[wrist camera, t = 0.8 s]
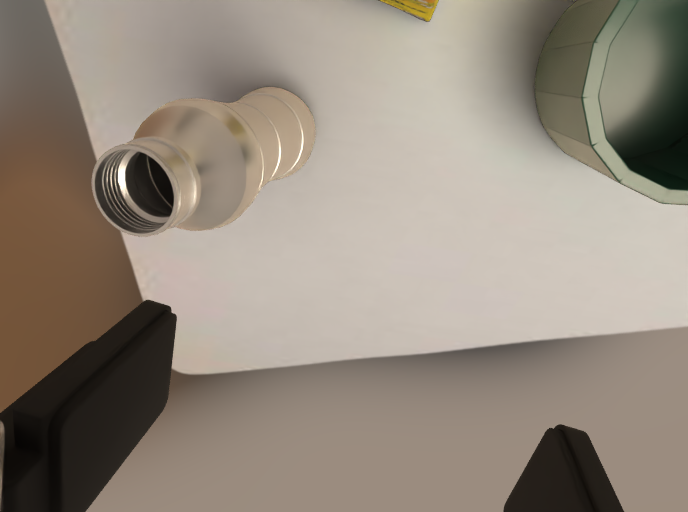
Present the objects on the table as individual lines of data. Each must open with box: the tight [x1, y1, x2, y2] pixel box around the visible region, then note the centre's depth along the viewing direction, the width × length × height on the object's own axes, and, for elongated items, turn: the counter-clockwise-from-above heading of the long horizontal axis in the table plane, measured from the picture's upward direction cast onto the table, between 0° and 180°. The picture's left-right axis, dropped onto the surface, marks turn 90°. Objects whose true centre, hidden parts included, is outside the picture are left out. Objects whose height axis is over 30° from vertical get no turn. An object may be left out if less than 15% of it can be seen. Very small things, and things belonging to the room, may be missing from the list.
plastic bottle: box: [92, 87, 316, 237], centre depth 27 cm, size 6×7×20 cm
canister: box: [535, 0, 688, 205], centre depth 26 cm, size 13×13×10 cm
